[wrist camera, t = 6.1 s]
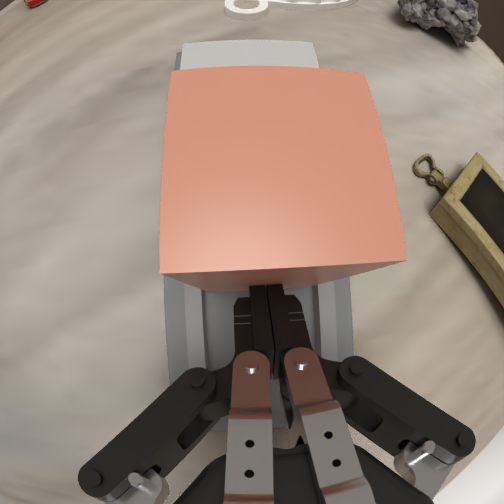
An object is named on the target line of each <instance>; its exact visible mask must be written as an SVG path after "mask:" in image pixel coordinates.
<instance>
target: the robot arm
mask: <svg viewBox="0 0 504 504" xmlns="http://www.w3.org/2000/svg"><path fill="white" fill-rule="evenodd" d="M233 310H234V342H235V354H234V357H233V359H232V361H231V362H230V363H229V364H228V365H227V366H225V367H223V368H221V369H217V370H214V371H209V370H208V369H205V368H202V367H194V368H191V369H188V370H186V371H185V372H184V373H183V374H182V375H181V376H180V377H179V378H178V379H177V380H176V381H174V382H173V383H172V384H171V385H170V386H169V387H168V388H167V389H166V390H165V391H164V392H163V393H162V394H161V395H160V396H159V397H158V398H157V399H156V400H155V401H154V402H153V403H151V404H150V405H149V406H148V407H147V408H146V409H145V410H144V411H143V412H142V413H141V414H140V415H139V416H138V417H137V418H135V419H134V420H133V421H132V422H131V423H130V424H129V425H128V426H127V427H126V428H125V429H124V430H122V431H121V432H120V433H119V434H118V435H117V436H116V437H115V438H114V439H113V440H112V441H110V442H109V443H108V444H107V445H106V446H105V447H104V448H103V449H102V450H100V451H99V452H98V453H97V454H96V455H95V456H94V457H93V458H91V459H90V460H89V461H88V462H87V463H86V464H85V465H83V466H82V468H81V469H80V471H79V474H78V481H79V485H80V487H81V488H82V490H83V491H84V492H85V493H86V494H88V495H90V496H92V497H95V498H97V499H98V500H100V501H103V502H105V503H106V504H163V503H164V501H165V500H166V498H167V497H168V495H169V485H168V483H167V481H166V480H165V479H164V478H165V477H166V476H167V475H168V474H169V473H170V472H171V471H172V470H173V469H174V468H175V467H176V466H177V465H178V464H179V463H180V462H181V461H182V460H183V459H184V458H185V457H186V456H187V454H188V453H189V452H190V451H191V450H192V449H193V448H194V447H195V446H196V445H197V444H198V443H199V442H200V441H201V440H202V438H203V437H204V436H205V435H206V434H207V433H208V432H209V431H210V430H211V429H212V427H213V426H214V425H215V424H216V423H217V422H218V421H219V420H220V418H221V417H224V416H227V415H229V418H228V435H227V453H226V454H225V455H223V456H221V457H219V458H217V459H215V460H214V461H212V462H211V463H210V464H209V465H207V466H206V467H205V468H204V470H203V471H202V472H201V473H200V474H199V475H198V477H197V478H196V479H195V480H194V481H193V482H192V484H191V485H190V486H189V487H188V488H187V489H186V490H185V491H184V493H183V494H182V495H181V496H180V497H179V498H178V499H177V500H176V501H175V502H174V503H173V504H434V503H433V501H432V500H433V498H434V497H435V495H436V493H437V492H438V490H439V489H440V487H441V486H442V484H443V482H444V481H445V479H446V477H447V476H448V474H449V472H450V471H451V469H452V467H453V465H454V464H455V463H456V462H458V461H460V460H461V459H463V458H464V457H466V456H467V455H469V454H470V453H471V452H472V451H473V449H474V447H475V443H476V439H475V435H474V433H473V431H472V430H471V429H470V428H469V427H467V426H466V425H464V424H462V423H461V422H459V421H458V420H456V419H455V418H453V417H452V416H450V415H448V414H447V413H445V412H444V411H442V410H441V409H439V408H438V407H436V406H435V405H433V404H432V403H430V402H429V401H427V400H426V399H424V398H423V397H421V396H420V395H418V394H417V393H415V392H414V391H412V390H411V389H409V388H408V387H406V386H405V385H403V384H402V383H400V382H399V381H397V380H396V379H394V378H393V377H391V376H390V375H388V374H387V373H385V372H384V371H382V370H381V369H379V368H378V367H376V366H375V365H373V364H372V363H370V362H369V361H368V360H366V359H364V358H362V357H359V356H350V357H347V358H345V359H344V360H343V361H342V362H337V361H331V360H326V359H324V358H322V357H320V356H318V355H317V354H316V353H315V352H314V350H313V348H312V346H311V341H310V337H309V333H308V329H307V325H306V321H305V317H304V313H303V309H302V305H301V302H300V301H299V300H298V298H297V297H296V296H295V295H285V294H284V289H283V285H282V284H273V285H266V288H265V285H254V286H249V297H240V298H237V300H236V302H235V304H234V306H233ZM272 375H273V380H276V379H279V384H280V391H279V396H280V400H281V405H282V409H283V414H284V418H285V422H286V427H287V432H288V444H289V449H280V448H273V439H272V411H271V397H270V380H272ZM347 424H349V425H350V426H352V427H353V428H354V429H356V430H357V431H358V432H360V433H361V434H362V435H364V436H365V437H367V438H368V439H369V440H371V441H372V442H374V443H375V444H376V445H378V446H379V447H381V448H382V449H383V450H385V451H386V452H388V453H389V454H391V455H392V456H394V468H395V470H396V471H397V472H398V473H399V474H400V475H401V476H402V477H400V476H399V475H398V474H396V473H395V472H394V471H392V470H391V469H390V468H388V467H387V466H385V465H384V464H383V463H382V462H380V461H379V460H378V459H376V458H375V457H374V456H372V455H371V454H370V453H368V452H367V451H366V450H364V449H363V448H361V447H359V446H357V445H355V444H353V441H352V438H351V435H350V432H349V429H348V426H347Z"/></svg>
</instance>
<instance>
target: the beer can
mask: <svg viewBox="0 0 504 504" xmlns="http://www.w3.org/2000/svg"><path fill="white" fill-rule="evenodd" d="M24 1H25V3H26V5H27V6H28V7H36V6H38V5H40V4H42V3H44V2H45V1H47V0H24Z"/></svg>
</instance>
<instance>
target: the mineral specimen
mask: <svg viewBox="0 0 504 504" xmlns="http://www.w3.org/2000/svg"><path fill="white" fill-rule="evenodd" d="M397 4H398V5H399V7H400V10H401V12H400V13H401V14H402V15H403V16H404V19H405V21H410V22H412V23H414V22H416V23H417V24H418V25H419V26H420V27H421V28H423V29H425V30H428V29H429V28H430V27H443V28H444V29H445V30H446V31H447V32H449V33H450V36H451V37H453V39H454V41H455V45H456V46H457V47H458V48H459V47H462V46H464V42H465V40H466V41H467V42H475V41H477V37H476V35H477V33H478V31H479V30H480V27H481V25H480V24H479V22H478V21H477V20H478V12H477V10H478V4H477V3H476V2H474V1H473V0H398V2H397Z"/></svg>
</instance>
